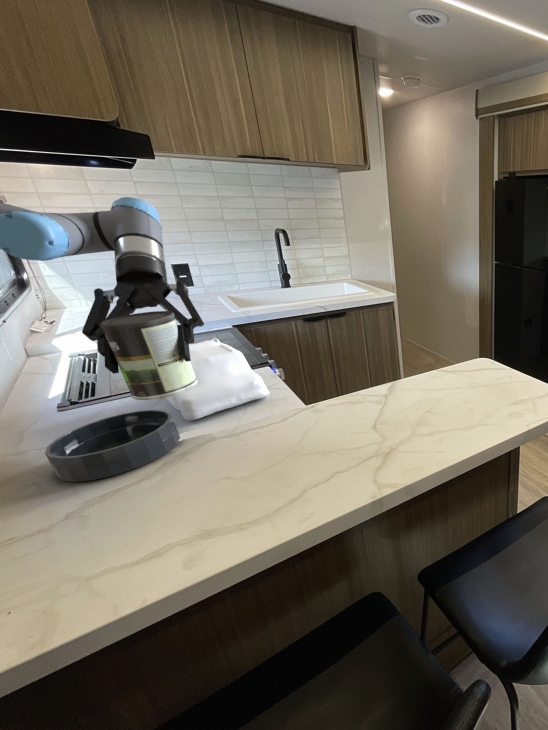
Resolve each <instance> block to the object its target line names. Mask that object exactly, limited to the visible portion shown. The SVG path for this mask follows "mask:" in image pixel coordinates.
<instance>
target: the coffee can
mask: <svg viewBox="0 0 548 730" xmlns="http://www.w3.org/2000/svg"><path fill="white" fill-rule="evenodd" d="M177 323H178V322H177V320H176V319H175V315H174V313H173V312H170V311H166V310H158V311H146V312H137V313H133V314H130V315H125V316H120V317H116V318H112V319H109V320H106V321H103V322H101V323H100V326H101V328H102V329H103V331H104V333H105V335H106V337H107V340H108V342H109V344H110V347H111V349H112V351H113V354H114V356H115V358H116V361H117V363H118V368H119V370H120V372H121V375H122V377H123V379H124V381H125V384H126V386H127V388H128V390H129V394H130V397H131V399H133V400H136V401H151V400H153V401H154V400H159V399H165V398H166V397H168V396H172V395H176V394H179V393H181V392H184V391H186V390H188V389H190V388H192V387H194V386H195V385H196V384H197V382H198V380H197V379H196V377H195V374H194V371H193V368H192V365H191V363H190V361H187V362H186V361H185V360H184V359H183V358H182V356H181V355H180V348H179V339H178V327H177V325H178V324H177Z"/></svg>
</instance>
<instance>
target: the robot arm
mask: <svg viewBox="0 0 548 730" xmlns="http://www.w3.org/2000/svg"><path fill="white" fill-rule="evenodd" d="M163 242H164V240H163V226H162V225H161V218H160V215H159V212H158V210H157V209H156V208H155V207H154V206H153V205H152V204H150V203H149V202H147V201H146V200H143V199H141V198H138V197H134V196H133V197H131V196H124V197H120V198H117V199H116V200H114V201H113V202H112V204H111V206H110V210H100V211H93V212H92V211H91V212H89V211H88V212H70V213H69V212H67V213H64V212H43V211H42V212H41V211H36V210H31V209H28V208H24V207H21V206H16V205H13V204H9V203H6V202H5V203H4V202H1V201H0V250H2V251H3V252H5V253H6V254H8V255H10V256H12V257H15V258H17V259H21V260H27V261H38V262H39V261H40V262H44V261H45V262H46V261H52V260H55V259H59V258H64V257H71V256H80V255H86V254H96V253H106V252H114V253H113V254H114V264H115V265H114V268H115V281H116V285H115V286H114V288H113V289H108V290H103V289H102V288H100V287H98V288H95V289H93V294H94V300H93V303H92V305H91V307H90V310H89V312H88V315H87V318H86V320H85V322H84V325H83V327H82V330H81V333H82V334H83V335H84V336H85V337H86V338H87V339H89V340H90V341H91V342H96V347H97V352H98V353H99V354H100V356H102V357H104V367H105V368H106V369H107V370H108V371H109V372H110V373H112V374H119V373H120V371H119V370H120V367H119V365H118V363H117V361H116V358H115V356H114V354H113V351H112V349H111V347H110V344H109V342H108V340H107V337H106V335H105V333H104V331H103V329H102V328H101V326H100V323H101V322H103V321H106V320H109V319H112V318H116V317H120V316H125V315H131V314H135V311H136V310H139V309H145V308H157V307H158V306H160V307H161V308H162V309H163V311H170V312H173V313H174V315H175V320H176V322H177V323H178V324H177V327H178V339H179V348H180V355H181V356H182V358H183V359H184V360H185V361H186V362H187V361H191V359H190V351H189V344H195V334H194V330H195V328H198V327H203V326H204V325H205V322H204V321H203V318H202V317H201V315H200V314H199V312H198V311H197V309H196V307H195V305H194V304H193V302H192V300H191V299H190V296H189V288H188V287H187V285H186V283H185V282H184V281H183V280H178V281H176V283H168V275H167V268H166V257H165V250H164V243H163ZM172 292H173V293H174V294H175V295H176V296H178V297H179V298H180V299H181V301H182V303H183V304H184V307H185V308H186V310H187V312H188V313H189V315H190V316H191V318H188V317H186V316H185V315H184V314H183V313H181V312H180V311H179V310H178V309H177V308H176V307H175V306H174V305H173V304H172V303H171V302H169V300H168V299H167V297H168V296H169V295H170V294H171V293H172ZM115 298H117V300H116V302H115V303H116V304H115V306H114V307H113V308H112V310H110V309H111V304H113V303H114V299H115ZM109 311H110V312H109Z"/></svg>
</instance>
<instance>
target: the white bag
mask: <svg viewBox="0 0 548 730" xmlns="http://www.w3.org/2000/svg"><path fill="white" fill-rule="evenodd" d="M189 351H190V359H191V361H190V363H191V365H192V368H193V371H194V374H195V377H196V379H197V380H198V382H197V384H196V385H195V386H194V387H192V388H190V389H188V390H186V391H184V392H181V393H179V394H176V395H172V396H168V397H165V398H166V399H167V401H168V402H170V404H171V406H173V407H174V409H175V410H177V411H180V415H181V416H182V418H183V419H185V420H187V421H195V420H198V419H202V418H203V417H207V416H210V415H212V414H215V413H218V412H220V411H224V410H228V409H231V408H234V407H238V406H240V405H243V404H246V403H249V402H251V401H256V400H259V399H263V398H266V397H267V396H269V395H270V390H269V389H268V387H267V386H266V384H265V382H264V380H263V378H262V377H261V376H260V375H259V374H258V373H256V372H255V371H254V370H253V369H252V368H251V366H250V364H249V363H248V361H247V359H246V357H245V355H244V354H243V352H241V351H240V350H238V349H235V348H234V347H232V346H231V345H229V344H226V343H223V342H221V341H220V339H218V338H217V337H216V336H214V337H213V338H211V339H210V340H204V341H200V342H196V343H191V344H189Z"/></svg>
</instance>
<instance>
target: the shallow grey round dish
mask: <svg viewBox="0 0 548 730" xmlns="http://www.w3.org/2000/svg"><path fill="white" fill-rule="evenodd" d="M180 439H181V436H180V432H179V430H178V428H177V424H176V423H175V420H174V418H173V415H172V412H169V411H167V410H166V409H165V410H164V409H144V410H143V409H142V410H135V411H130V412H124V413H120V414H115V415H112V416H108V417H105V418H101V419H99V420H98V419H97V420H95V421H93V422H89V423H86V424H84V425H82V426H79V427H77V428H75V429H72V430H70V431H68V432H67V433H65V434H63V435H61V436H59V437H57V438H55V439H54V440H53V441H52V442H51V443H49V444H48V445H47V446H46V448H45V451H44V455H45V457H46V458H47V460H48V461H49V463H50V465H51V467H52V469H53V471H54V472H55V474H56V476H57V477H58V478H59V479H61V480H62V481H65V482H73V483H76V482H77V483H78V482H88V481H96V480H100V479H104V478H108V477H113V476H116V475H119V474H122V473H126V472H129V471H131V470H134V469H136V468H139V467H141V466H143V465H146V464H148V463H150V462H152V461H154V460H156V459H157V458H160V457H161V456H163V455H165V454H167V453H168V452H169V451H170V450H171V449H173V448H174V447H175V446H176V445H177V444H178V442H179V441H180Z"/></svg>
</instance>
